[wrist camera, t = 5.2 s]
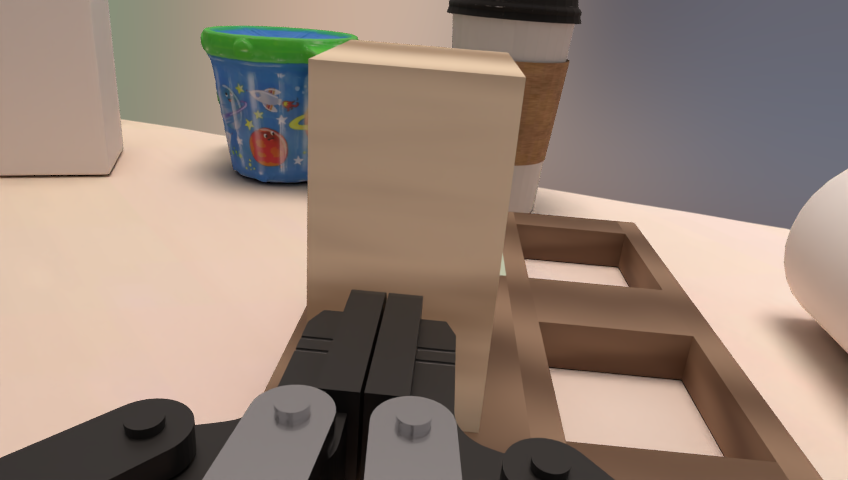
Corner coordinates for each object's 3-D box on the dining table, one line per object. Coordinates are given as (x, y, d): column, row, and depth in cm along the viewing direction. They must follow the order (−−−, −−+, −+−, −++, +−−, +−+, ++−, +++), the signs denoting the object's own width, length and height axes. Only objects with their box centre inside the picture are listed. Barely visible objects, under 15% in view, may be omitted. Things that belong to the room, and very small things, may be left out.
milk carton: (21, 150, 47) (-28, -139, 40) (124, 150, 50) (95, -124, 42) (-9, 178, 41) (-73, -159, 34) (110, 176, 43) (74, -141, 36)
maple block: (479, 432, 18) (525, 77, 14) (306, 415, 18) (308, 58, 14) (475, 328, 24) (508, 52, 20) (342, 315, 24) (351, 39, 20)
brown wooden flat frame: (828, 578, 17) (853, 521, 16) (234, 516, 17) (231, 458, 16) (627, 254, 37) (634, 222, 36) (358, 229, 37) (359, 198, 37)
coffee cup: (532, 187, 49) (563, -22, 43) (567, 227, 41) (610, -23, 35) (424, 183, 47) (442, -33, 42) (439, 222, 40) (463, -36, 34)
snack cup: (178, 153, 50) (168, 18, 46) (298, 142, 56) (298, 22, 52) (262, 214, 39) (258, 42, 35) (401, 192, 45) (410, 44, 41)
